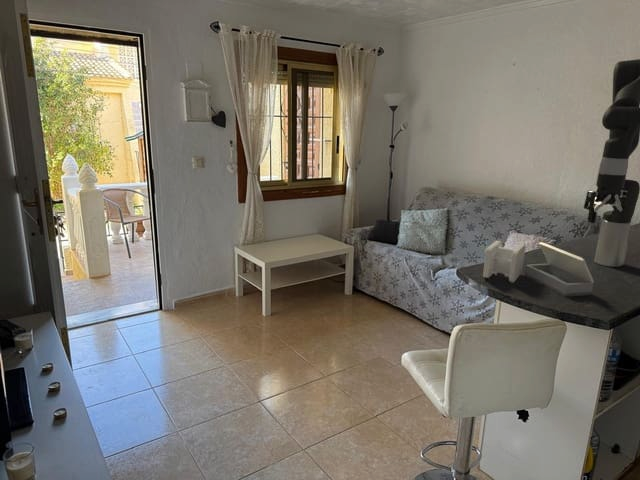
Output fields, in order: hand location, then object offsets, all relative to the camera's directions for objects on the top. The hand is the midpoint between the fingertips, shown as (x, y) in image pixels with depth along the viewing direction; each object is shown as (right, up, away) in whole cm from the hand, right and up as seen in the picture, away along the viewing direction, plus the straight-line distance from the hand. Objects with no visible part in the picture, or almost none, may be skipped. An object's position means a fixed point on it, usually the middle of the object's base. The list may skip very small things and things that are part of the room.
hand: (602, 222), depth 147 cm
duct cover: (-10, -13, +5) cm, 17 cm away
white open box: (-12, -21, +7) cm, 25 cm away
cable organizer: (-28, -19, +13) cm, 36 cm away
